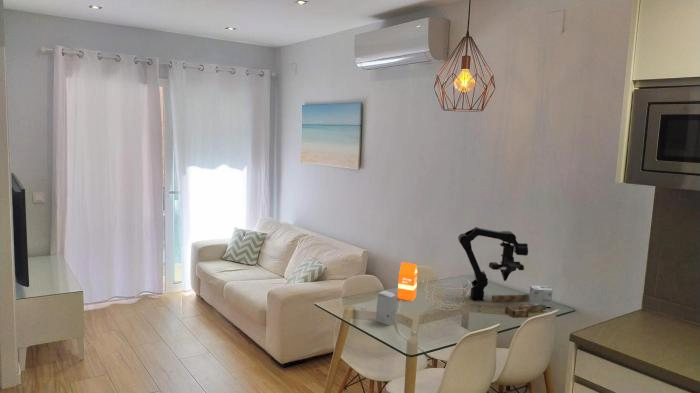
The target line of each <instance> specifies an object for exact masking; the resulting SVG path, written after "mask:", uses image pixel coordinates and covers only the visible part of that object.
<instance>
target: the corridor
mask: <svg viewBox="0 0 700 393" xmlns="http://www.w3.org/2000/svg"><path fill="white" fill-rule="evenodd" d="M529 294H530V293H519V294H507V295H506V294H503V295H501V294H497V295H496V294H495V295H491V302H492V303H513V302H514V303H515V302H516V303H519V302H521V303H522V302H525V301H526V302H529ZM546 309H547V308H546V304H544V303H543V304H534V305H530V304H519V305H518V309H514V308H513V307H511V306H510V305H504V313H506V314H507V315H509V316H510V317H512V318H529V313H534V312H533V311H543V310H545V311H546Z"/></svg>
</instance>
